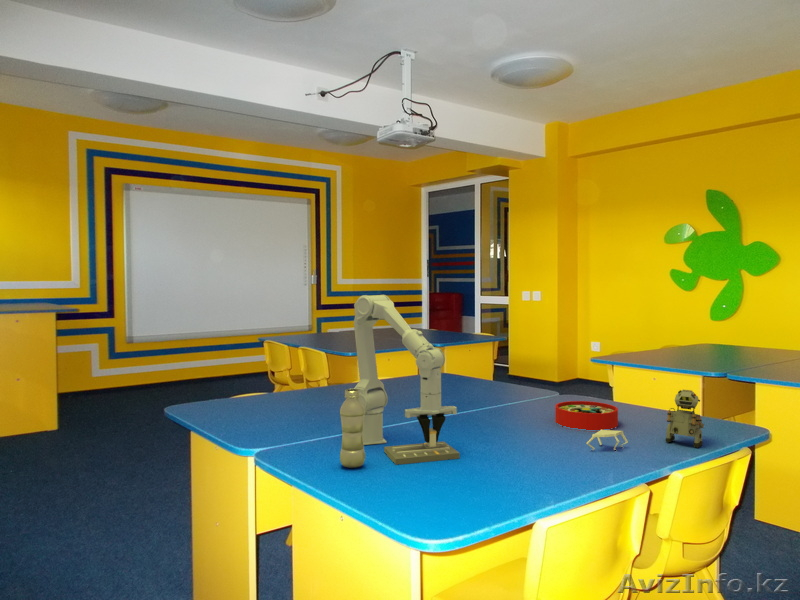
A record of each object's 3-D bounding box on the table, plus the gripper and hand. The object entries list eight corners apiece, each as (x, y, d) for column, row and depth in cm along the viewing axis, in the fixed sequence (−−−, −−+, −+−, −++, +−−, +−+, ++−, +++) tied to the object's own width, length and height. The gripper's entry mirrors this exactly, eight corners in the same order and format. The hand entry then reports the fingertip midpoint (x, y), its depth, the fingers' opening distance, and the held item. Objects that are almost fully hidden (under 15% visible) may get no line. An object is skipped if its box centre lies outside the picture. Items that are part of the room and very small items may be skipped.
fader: (426, 451, 157) (426, 431, 157) (422, 447, 160) (422, 428, 160) (440, 450, 158) (440, 430, 158) (436, 446, 161) (435, 427, 161)
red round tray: (543, 403, 198) (589, 399, 205) (543, 420, 198) (589, 415, 206) (582, 416, 179) (631, 410, 187) (582, 434, 179) (631, 428, 187)
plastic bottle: (352, 461, 154) (351, 386, 153) (370, 466, 149) (370, 389, 149) (334, 467, 149) (333, 390, 148) (353, 472, 144) (352, 393, 144)
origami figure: (604, 442, 170) (604, 426, 170) (629, 449, 163) (629, 431, 163) (578, 449, 163) (578, 432, 163) (604, 456, 156) (604, 438, 156)
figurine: (708, 441, 170) (709, 391, 169) (696, 450, 161) (696, 396, 161) (676, 436, 176) (676, 387, 176) (662, 443, 168) (663, 392, 167)
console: (395, 464, 150) (395, 456, 150) (384, 452, 162) (383, 444, 162) (459, 458, 155) (459, 450, 155) (444, 446, 167) (443, 439, 167)
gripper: (410, 396, 153) (410, 447, 153) (460, 393, 157) (460, 442, 157) (402, 392, 160) (402, 440, 160) (451, 389, 164) (451, 436, 164)
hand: (431, 441), depth 159 cm, fingers closed on fader, 2 cm apart
